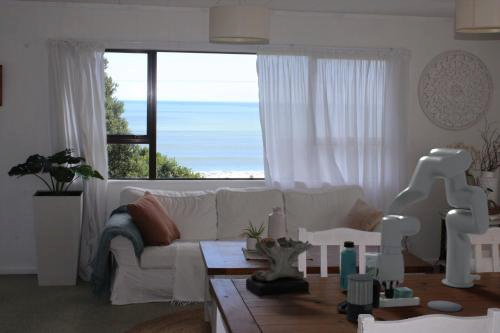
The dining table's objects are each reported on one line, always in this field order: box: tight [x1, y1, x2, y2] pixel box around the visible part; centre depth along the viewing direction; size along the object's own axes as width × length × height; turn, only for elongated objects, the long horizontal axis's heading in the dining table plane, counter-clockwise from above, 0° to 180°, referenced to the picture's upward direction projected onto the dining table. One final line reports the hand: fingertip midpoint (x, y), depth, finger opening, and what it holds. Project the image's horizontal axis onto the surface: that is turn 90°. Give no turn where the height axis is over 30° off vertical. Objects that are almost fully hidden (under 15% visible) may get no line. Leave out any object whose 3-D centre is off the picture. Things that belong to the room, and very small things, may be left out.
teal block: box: [394, 286, 414, 299], centre depth 245 cm, size 5×5×5 cm
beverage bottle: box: [338, 240, 358, 291], centre depth 258 cm, size 6×7×20 cm
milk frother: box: [336, 273, 382, 323], centre depth 226 cm, size 14×16×15 cm
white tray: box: [379, 292, 421, 308], centre depth 244 cm, size 16×10×2 cm, turn 104°
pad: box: [427, 300, 462, 313], centre depth 239 cm, size 12×12×1 cm
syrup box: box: [363, 251, 379, 279], centre depth 263 cm, size 6×6×14 cm
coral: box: [245, 236, 314, 297], centre depth 257 cm, size 25×20×21 cm
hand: (389, 298), depth 243 cm, fingers closed
